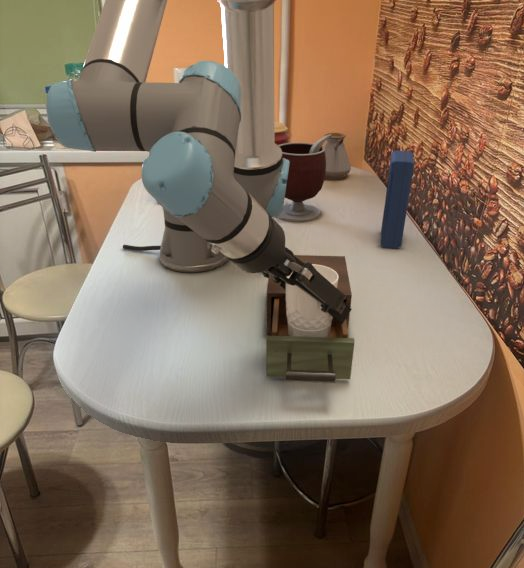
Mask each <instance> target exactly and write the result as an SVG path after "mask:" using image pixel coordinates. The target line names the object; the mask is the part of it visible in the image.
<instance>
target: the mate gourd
mask: <svg viewBox="0 0 524 568" xmlns="http://www.w3.org/2000/svg"><path fill="white" fill-rule="evenodd" d="M331 137H332V136H331V134H329V135H327V136H323V137H321V138H319V139H318V140H317V141H315V142H314V143H312V142H311V143H310V142H288V143H285V144H281V145H278V146H279V147H280V148H281V150H282V159H283V158H284V159H287V160H289V162H290V164H289V172H288V178H287V185H286V192H285V198H284V199H287V200H289V201H292V203H290V204H289V203H287V204H284V205H283V210H282V212H281V214H280V215H279V216H277V217H276V218H278V219H280V220H283V221H287V222H292V223H293V222H294V223H302V222H310V221H314V220H316V219H318V218H319V217H320V215H321V211H320V209H319V208H317V207H315V206H313V205H309V204H304V201H308V200H310V199H313V198H315V197H316V196H317V195H318V194H319V192H320V191H322V189H323V186H324V184H325V183H324V182H325V173H326V156H325V148H324V147H325V146H323V145H324V143H325V142H327V139H328V138H331Z"/></svg>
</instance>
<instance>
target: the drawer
mask: <svg viewBox="0 0 524 568" xmlns="http://www.w3.org/2000/svg"><path fill="white" fill-rule="evenodd" d="M354 350H355V338H354V337H349V329H348V330H347V323H346V319H345V321H344V323H343V324H341V323H339V322H338V321H337V320H336V319H335V318H334V317H333V318H332V322H331V330H330V334H329V336H328V337H297V336H289V335H288V329H287V316H286V297H275V299H274V311H273V324H272V336H267V335H266V351H265V352H266V356H265V357H266V359H265V364H266V365H265V372H266V373H265V376H266V377H267V378H268V377H269V378H284V381H285V382H299V383H300V382H302V383H328V384H329V383H330V384H331V383H332V384H335V383H336V380H351V376H352V367H353V359H354Z"/></svg>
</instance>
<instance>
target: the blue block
mask: <svg viewBox="0 0 524 568" xmlns="http://www.w3.org/2000/svg"><path fill="white" fill-rule="evenodd" d="M413 153H414V152H411V151H410V150H393V151H392V152H391V154H390V162H389V170H388V177H387V183H386V193H385V201H384V207H383V214H382V223H381V231H380V242H379V243H380V246H381V247H382V248H384V249H396V250H397V249H399V248H401V247H402V243H403V236H404V230H405V225H406V218H407V210H408V208H409V202H410V193H411V185H412V181H413V180H412V179H413V174H414V167H415V160H414V154H413Z"/></svg>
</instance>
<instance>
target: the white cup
mask: <svg viewBox="0 0 524 568" xmlns="http://www.w3.org/2000/svg"><path fill="white" fill-rule="evenodd" d="M312 265H313V266H314V268H315V269H316V270H317V271H318V272H319V273H320V274H321V275H322V276H323V277H325V278H326V279H327V280H328V281H329V282H330V283H331V284H333V285H334V286H335V287H336V288H337V285H338V278H339V276H338V274H337V272H336V271H334V270H333V269H331V268H329V267H326V266H322V265H316V264H312ZM291 274H292V273H291ZM290 276H291V275H290ZM290 276H287V278H289V277H290ZM320 305H321V303H319V302H318V301H317V300H315V299H314V298H312V297H311V296H310V295H308V294H307V293H306V292H304V291H303V290H301V289H300V288H299V287H297V286H296V285H294V286H292V285H289V284H287V283H286V316H287V329H288V335H289V336H297V337H328V336H329V334H330V330H331V322H332V318H333V317H332V316H331V315H330V314H329V313H328V312H327V313H325V312H323V311H321V309H322V307H321V306H320Z"/></svg>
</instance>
